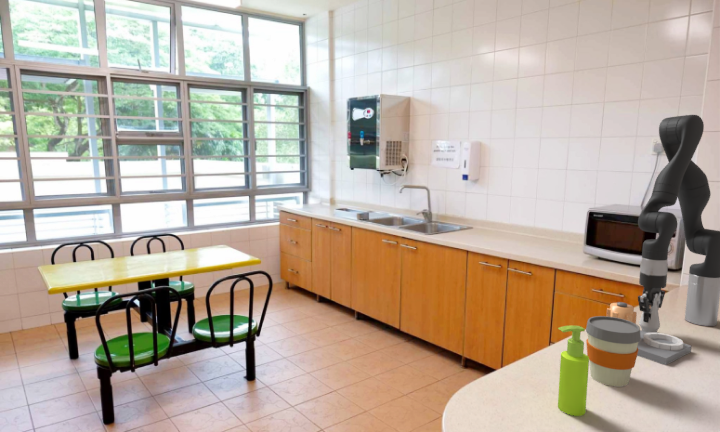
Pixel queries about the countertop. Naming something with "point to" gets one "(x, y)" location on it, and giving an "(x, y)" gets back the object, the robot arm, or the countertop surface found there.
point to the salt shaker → (651, 320)
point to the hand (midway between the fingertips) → (649, 321)
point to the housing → (651, 338)
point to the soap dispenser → (573, 374)
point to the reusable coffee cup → (612, 349)
